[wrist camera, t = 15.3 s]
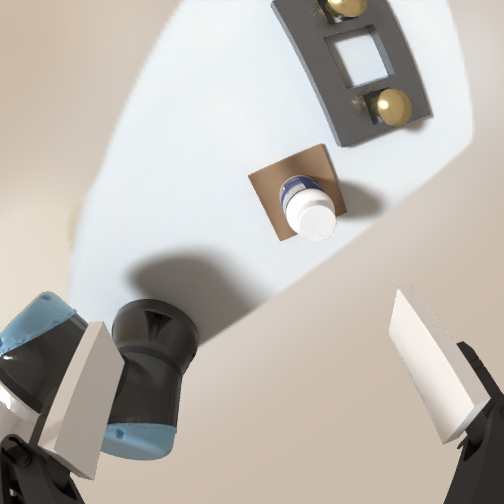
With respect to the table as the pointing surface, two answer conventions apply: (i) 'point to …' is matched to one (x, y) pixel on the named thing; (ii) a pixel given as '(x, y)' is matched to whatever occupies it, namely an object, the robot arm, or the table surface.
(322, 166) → the coaster
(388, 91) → the plunger
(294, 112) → the table surface
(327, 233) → the pill bottle
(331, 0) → the plunger
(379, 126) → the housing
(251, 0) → the table surface
